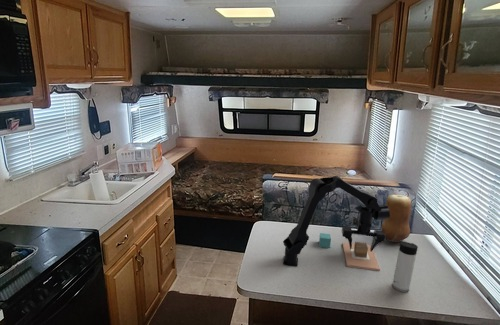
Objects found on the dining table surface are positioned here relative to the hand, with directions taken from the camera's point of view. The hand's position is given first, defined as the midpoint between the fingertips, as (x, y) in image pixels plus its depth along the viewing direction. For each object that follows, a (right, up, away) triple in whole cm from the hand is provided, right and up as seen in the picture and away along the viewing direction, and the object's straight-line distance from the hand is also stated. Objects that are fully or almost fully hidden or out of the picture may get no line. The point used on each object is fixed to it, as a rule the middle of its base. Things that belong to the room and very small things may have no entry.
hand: (360, 249), depth 149 cm
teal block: (-15, 0, +10) cm, 18 cm away
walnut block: (0, -2, +1) cm, 2 cm away
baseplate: (0, -3, +1) cm, 4 cm away
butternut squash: (+23, 0, +17) cm, 29 cm away
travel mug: (+9, -10, -20) cm, 24 cm away
